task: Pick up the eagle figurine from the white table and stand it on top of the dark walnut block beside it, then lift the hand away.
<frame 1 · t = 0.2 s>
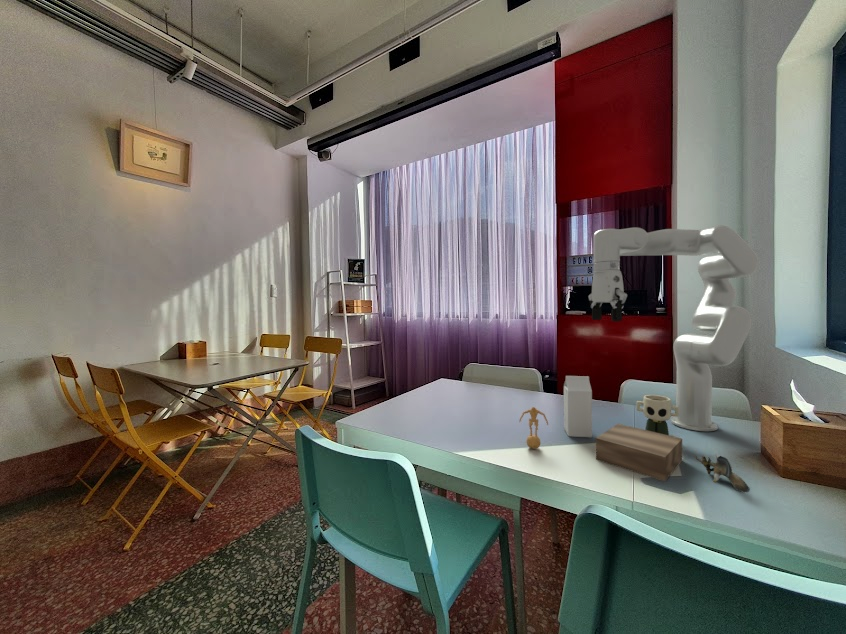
hand: (606, 320, 112), 37 cm above the table, tool pointing down, fingers open, 9 cm apart
character mug: (656, 439, 107), on the table
eagle figurine: (722, 482, 82), on the table
walnut block: (638, 459, 93), on the table
figurine: (533, 447, 103), on the table
milk carton: (577, 433, 113), on the table
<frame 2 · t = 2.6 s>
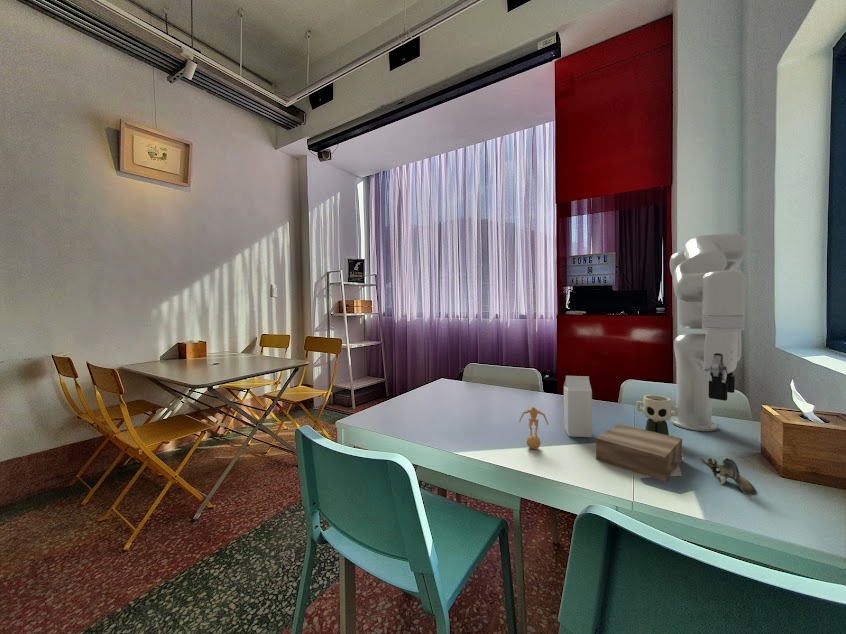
hand: (721, 395, 81), 21 cm above the table, tool pointing down, fingers open, 9 cm apart
eagle figurine: (729, 485, 80), on the table
everything else where it was.
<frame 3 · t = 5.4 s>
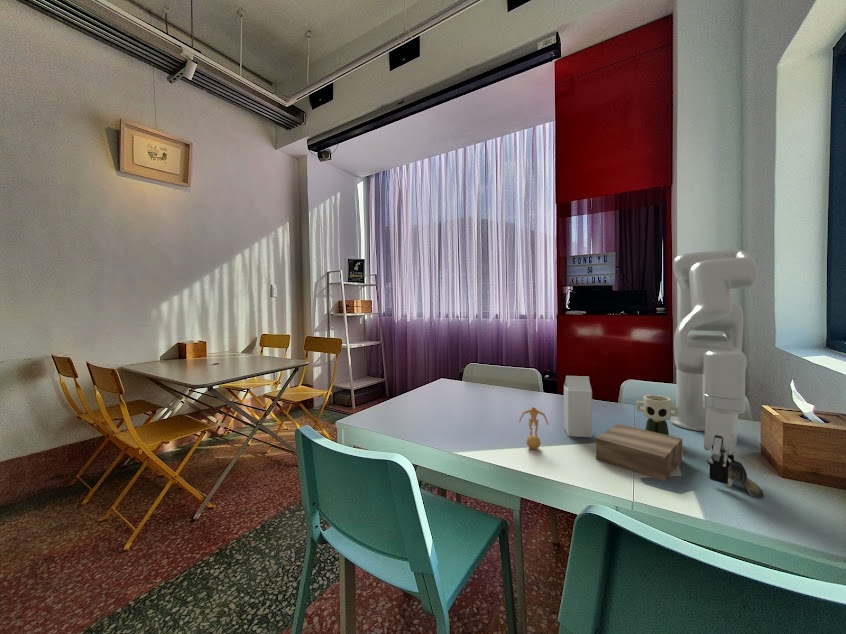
hand: (721, 474, 82), 1 cm above the table, tool pointing down, fingers closed on eagle figurine, 7 cm apart
eagle figurine: (736, 487, 79), on the table, touching gripper
everything else where it was.
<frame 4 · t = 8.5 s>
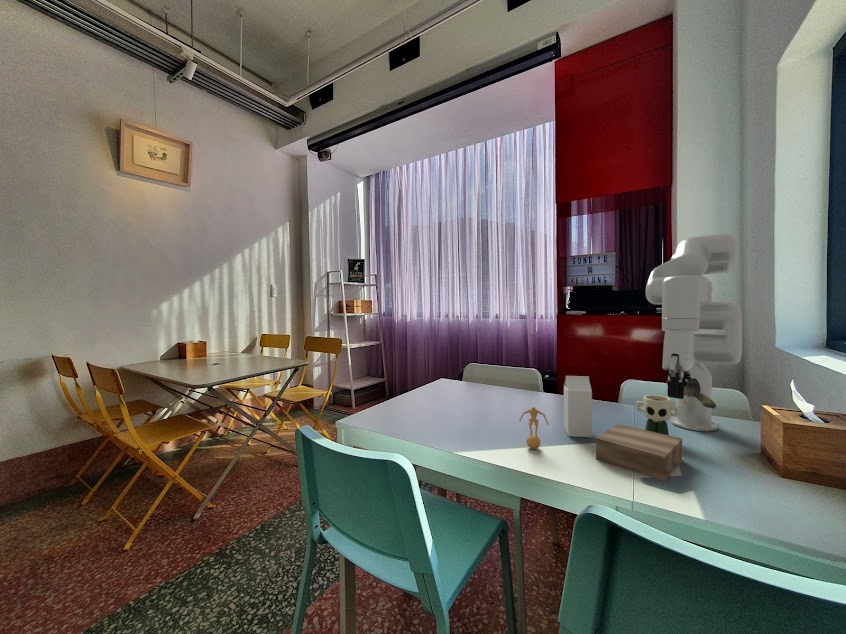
hand: (679, 393, 87), 20 cm above the table, tool pointing down, fingers closed on eagle figurine, 7 cm apart
eagle figurine: (692, 403, 84), point 18 cm above the table, touching gripper
everything else where it was.
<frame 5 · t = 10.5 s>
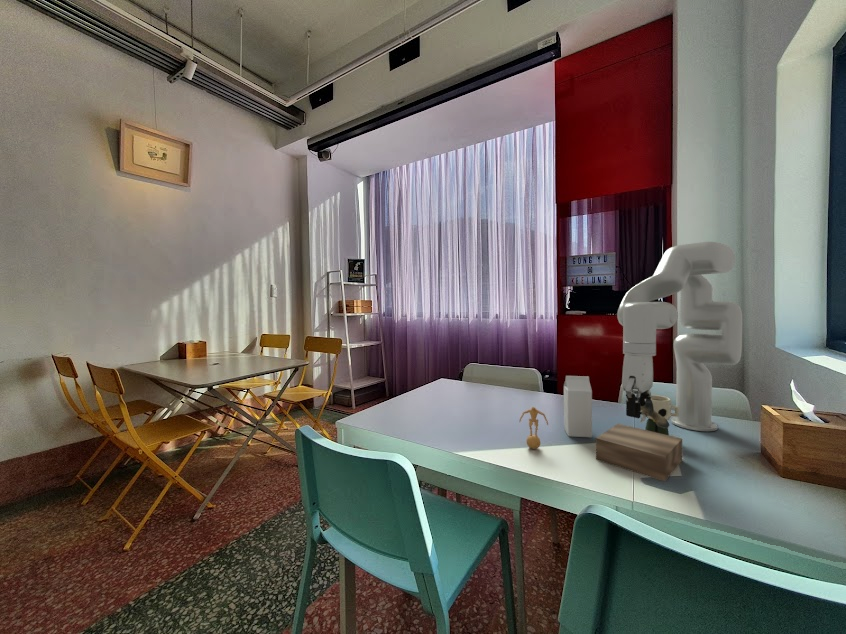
hand: (638, 413, 93), 13 cm above the table, tool pointing down, fingers closed on eagle figurine, 7 cm apart
eagle figurine: (649, 422, 90), point 11 cm above the table, touching gripper
everything else where it was.
when the fingers open (9 cm above the table, at t = 11.9 s): eagle figurine drops 1 cm, resting on walnut block.
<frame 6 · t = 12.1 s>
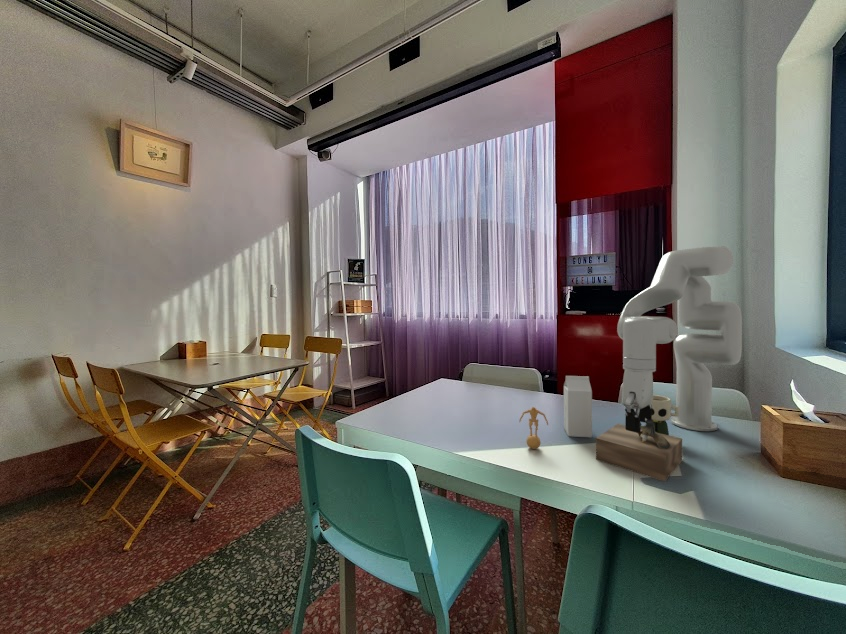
hand: (638, 426, 93), 9 cm above the table, tool pointing down, fingers open, 9 cm apart
eagle figurine: (649, 442, 91), point 6 cm above the table, touching walnut block
everything else where it was.
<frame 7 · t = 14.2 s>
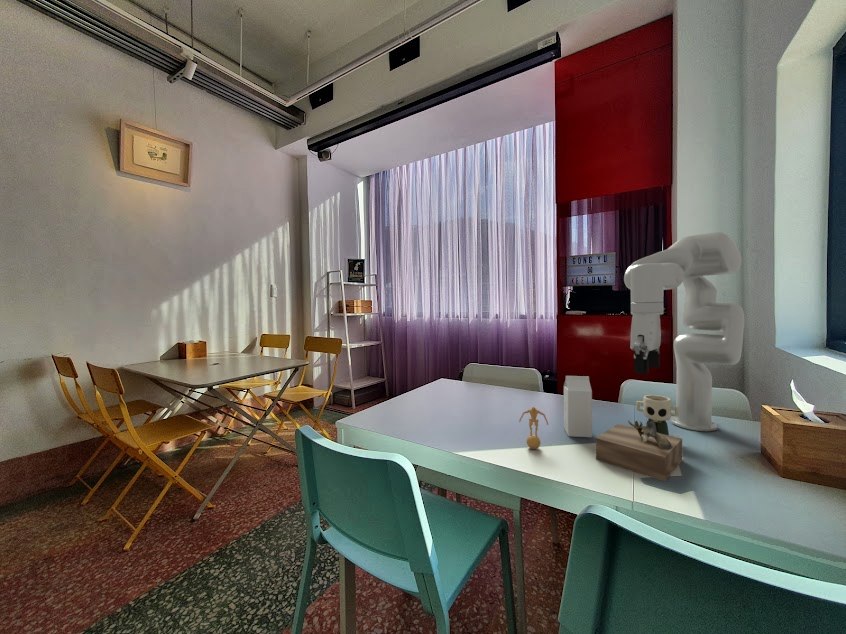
hand: (647, 370, 95), 24 cm above the table, tool pointing down, fingers open, 9 cm apart
nothing on the table moved.
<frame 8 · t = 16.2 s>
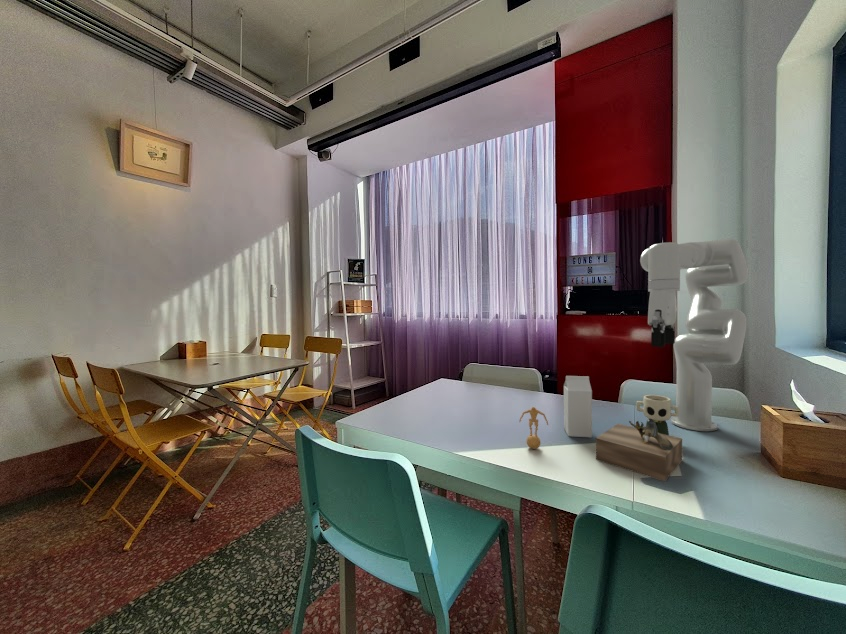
hand: (663, 345, 100), 30 cm above the table, tool pointing down, fingers open, 9 cm apart
nothing on the table moved.
at the end: eagle figurine inside the target area on the walnut block (3.5 cm from its centre), point 5.8 cm above the walnut block's base; eagle figurine tilted 0°; the gripper is holding nothing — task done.
